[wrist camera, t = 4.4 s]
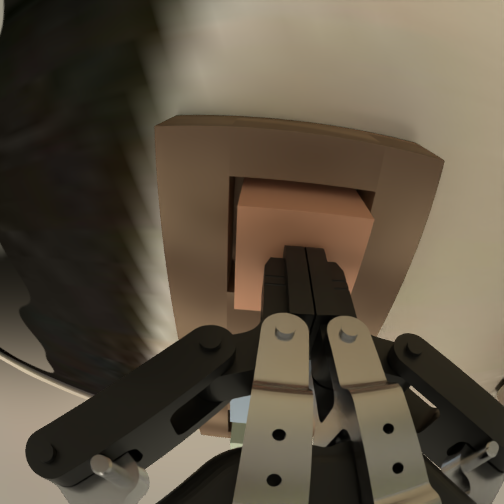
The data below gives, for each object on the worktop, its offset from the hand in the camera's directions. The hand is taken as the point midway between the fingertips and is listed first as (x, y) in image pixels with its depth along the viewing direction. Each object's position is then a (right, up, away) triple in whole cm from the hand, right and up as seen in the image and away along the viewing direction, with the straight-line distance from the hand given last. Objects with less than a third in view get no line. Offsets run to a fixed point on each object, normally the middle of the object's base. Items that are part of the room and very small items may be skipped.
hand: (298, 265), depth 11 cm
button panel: (0, -6, +10) cm, 11 cm away
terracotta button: (0, +2, +3) cm, 3 cm away
